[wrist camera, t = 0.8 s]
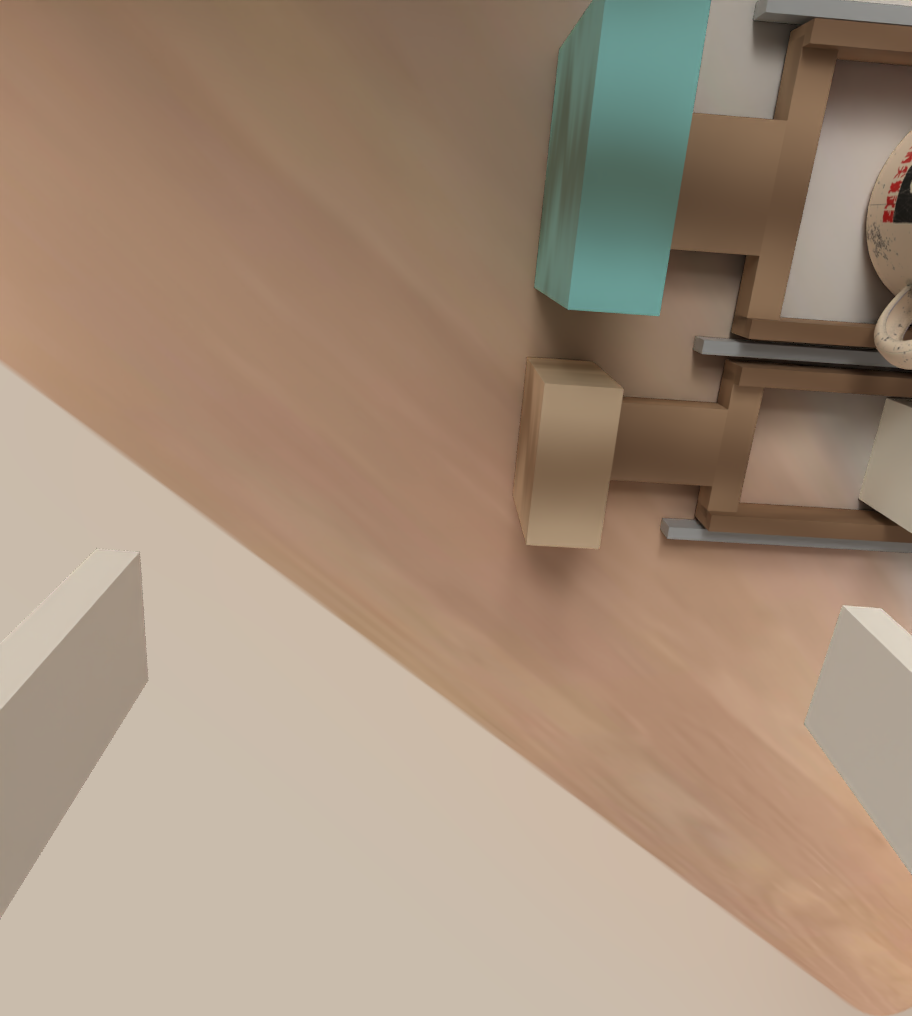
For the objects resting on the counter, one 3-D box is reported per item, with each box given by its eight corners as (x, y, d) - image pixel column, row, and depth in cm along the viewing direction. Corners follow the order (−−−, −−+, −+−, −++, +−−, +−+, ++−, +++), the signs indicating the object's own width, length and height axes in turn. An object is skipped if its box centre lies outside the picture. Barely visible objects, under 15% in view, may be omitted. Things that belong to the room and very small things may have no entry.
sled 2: (528, 345, 33) (546, 370, 28) (1086, 384, 34) (1212, 415, 29) (511, 504, 36) (524, 556, 30) (1029, 535, 37) (1135, 590, 31)
